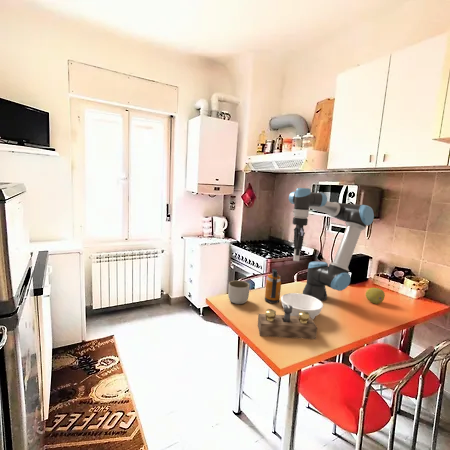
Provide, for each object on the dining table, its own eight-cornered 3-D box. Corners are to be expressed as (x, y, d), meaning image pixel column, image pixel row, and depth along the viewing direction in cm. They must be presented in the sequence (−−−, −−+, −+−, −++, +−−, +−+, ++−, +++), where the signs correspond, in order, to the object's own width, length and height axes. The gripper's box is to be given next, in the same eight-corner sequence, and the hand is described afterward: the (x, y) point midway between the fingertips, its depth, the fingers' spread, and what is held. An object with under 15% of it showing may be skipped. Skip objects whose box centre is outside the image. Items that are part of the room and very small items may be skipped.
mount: (309, 328, 135) (310, 317, 135) (315, 339, 125) (317, 327, 125) (257, 324, 136) (258, 313, 135) (259, 335, 126) (260, 323, 125)
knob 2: (305, 329, 133) (307, 311, 131) (308, 335, 128) (310, 316, 127) (296, 329, 133) (298, 311, 131) (298, 334, 128) (300, 315, 127)
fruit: (387, 305, 171) (389, 290, 169) (374, 306, 167) (376, 291, 166) (373, 298, 180) (375, 284, 179) (361, 299, 177) (363, 285, 175)
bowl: (276, 305, 161) (277, 291, 160) (314, 307, 160) (316, 294, 159) (283, 324, 138) (284, 308, 137) (327, 327, 138) (329, 311, 137)
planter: (244, 296, 170) (245, 280, 168) (251, 305, 158) (252, 287, 157) (225, 297, 166) (226, 280, 165) (231, 306, 155) (232, 288, 153)
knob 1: (273, 327, 133) (275, 309, 132) (275, 332, 128) (276, 314, 127) (263, 327, 133) (265, 308, 132) (264, 332, 128) (266, 313, 127)
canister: (278, 298, 170) (281, 267, 167) (280, 306, 159) (283, 273, 157) (264, 297, 171) (266, 266, 168) (265, 304, 160) (267, 272, 157)
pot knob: (289, 323, 132) (291, 304, 131) (291, 327, 128) (293, 308, 127) (281, 322, 132) (283, 303, 131) (283, 326, 128) (284, 307, 127)
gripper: (290, 215, 149) (286, 257, 153) (296, 218, 136) (292, 263, 140) (304, 216, 149) (299, 258, 152) (311, 219, 136) (306, 264, 140)
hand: (296, 260), depth 146 cm, fingers closed
